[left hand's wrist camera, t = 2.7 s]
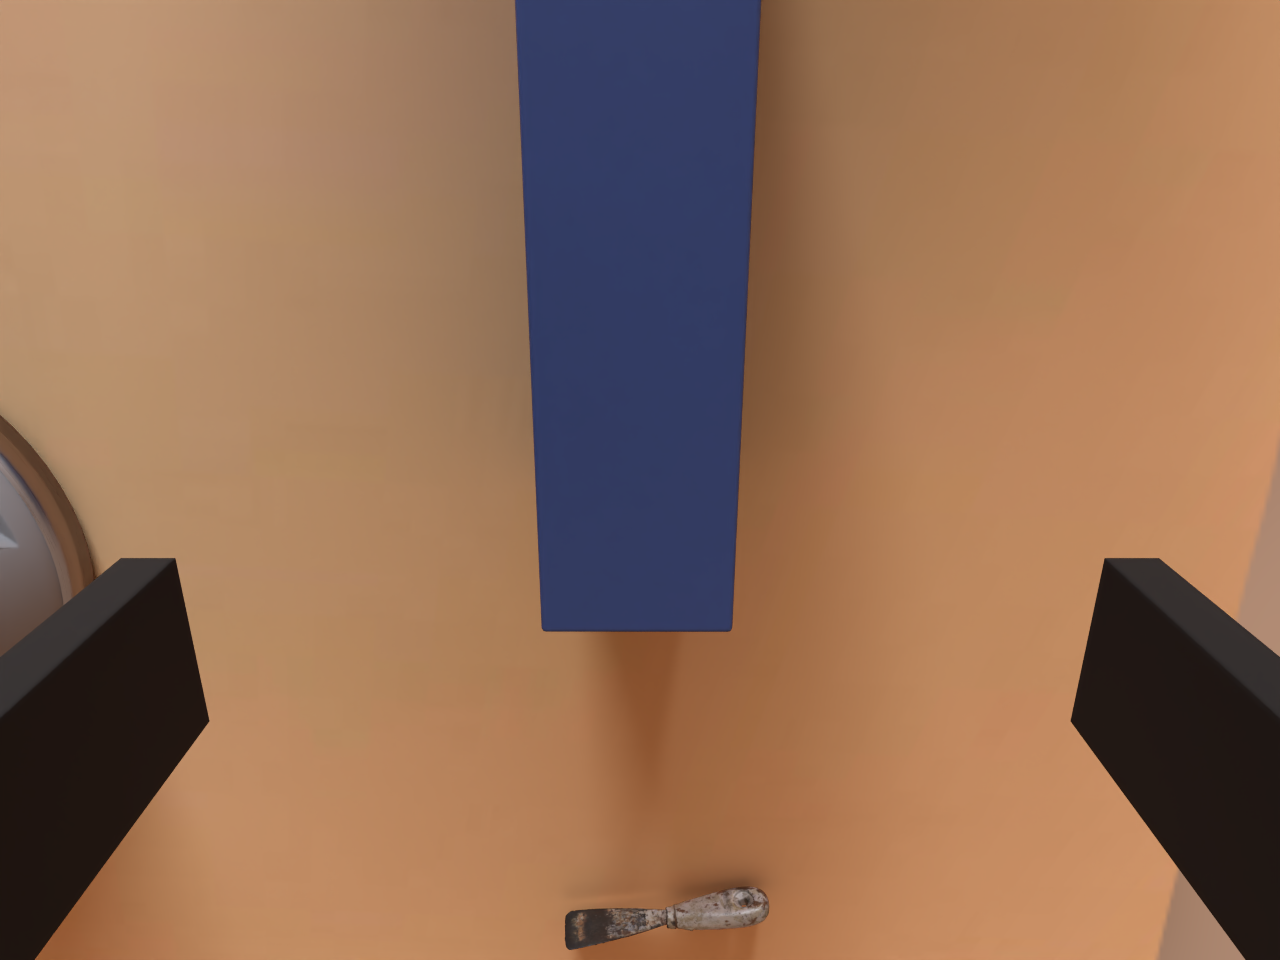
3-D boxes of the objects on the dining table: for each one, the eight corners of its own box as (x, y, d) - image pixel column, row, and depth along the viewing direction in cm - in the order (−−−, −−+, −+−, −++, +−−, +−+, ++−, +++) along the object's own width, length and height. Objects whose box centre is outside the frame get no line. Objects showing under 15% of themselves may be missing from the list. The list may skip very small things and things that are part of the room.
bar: (704, 486, 29) (732, 633, 21) (569, 485, 29) (541, 633, 21) (732, -410, 21) (798, -787, 12) (544, -411, 21) (480, -789, 12)
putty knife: (767, 898, 35) (774, 934, 34) (569, 924, 36) (566, 960, 34) (764, 879, 35) (770, 914, 33) (564, 905, 35) (561, 941, 34)
